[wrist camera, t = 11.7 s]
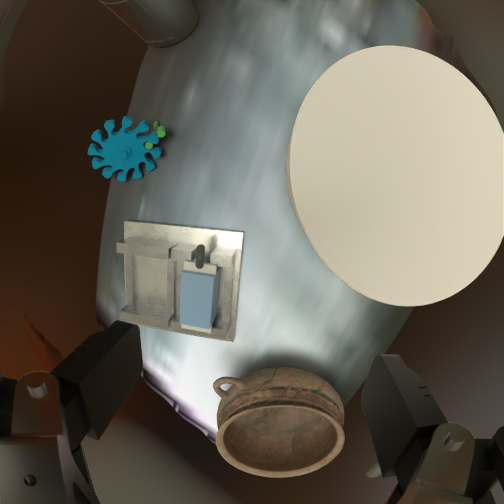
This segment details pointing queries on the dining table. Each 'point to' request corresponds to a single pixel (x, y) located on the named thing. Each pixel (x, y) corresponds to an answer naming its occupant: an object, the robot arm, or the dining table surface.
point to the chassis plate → (177, 273)
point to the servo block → (199, 293)
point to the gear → (126, 148)
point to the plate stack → (398, 175)
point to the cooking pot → (279, 422)
